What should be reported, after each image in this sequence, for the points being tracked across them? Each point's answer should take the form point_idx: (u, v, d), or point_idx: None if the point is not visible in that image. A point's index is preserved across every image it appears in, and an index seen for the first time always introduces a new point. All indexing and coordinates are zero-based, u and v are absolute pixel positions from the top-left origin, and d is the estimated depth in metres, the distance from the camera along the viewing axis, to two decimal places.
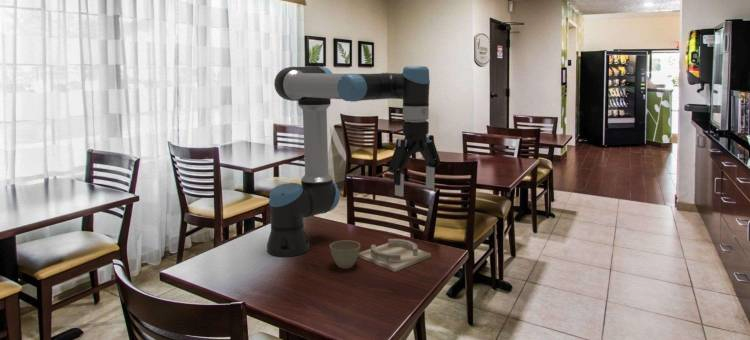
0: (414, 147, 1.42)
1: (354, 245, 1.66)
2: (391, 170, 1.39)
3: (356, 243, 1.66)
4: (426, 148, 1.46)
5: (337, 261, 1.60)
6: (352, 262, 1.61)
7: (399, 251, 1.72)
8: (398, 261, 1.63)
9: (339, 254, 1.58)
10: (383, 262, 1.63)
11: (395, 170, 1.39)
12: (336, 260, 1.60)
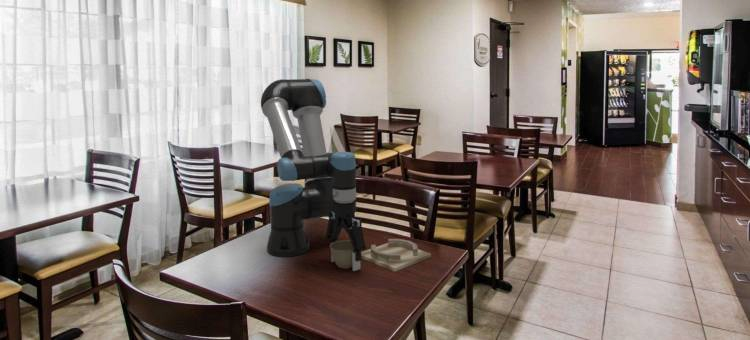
0: (336, 222, 1.61)
1: None
2: None
3: None
4: (346, 228, 1.58)
5: (337, 261, 1.60)
6: (352, 262, 1.61)
7: (399, 251, 1.72)
8: (398, 261, 1.63)
9: (339, 254, 1.58)
10: (383, 262, 1.63)
11: (326, 236, 1.67)
12: (336, 260, 1.60)
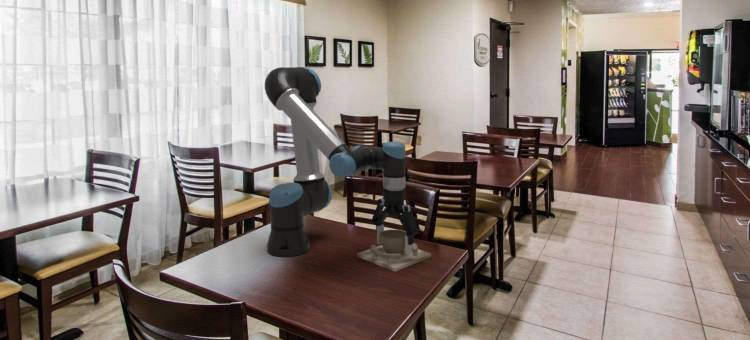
0: (385, 209, 1.68)
1: (401, 234, 1.73)
2: None
3: (404, 232, 1.73)
4: (397, 214, 1.65)
5: (387, 249, 1.67)
6: (401, 250, 1.68)
7: None
8: (398, 261, 1.63)
9: (389, 242, 1.65)
10: (383, 262, 1.63)
11: (372, 220, 1.75)
12: (386, 248, 1.67)
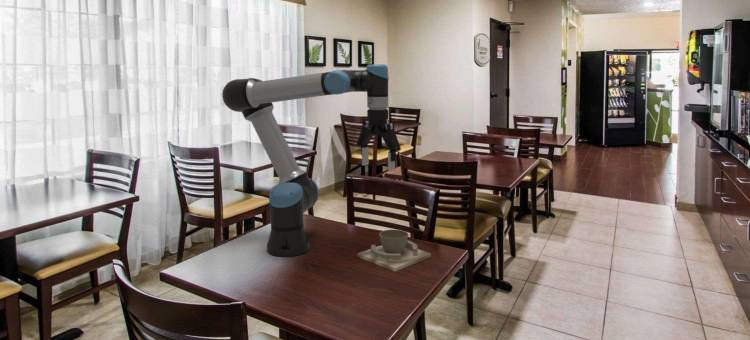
0: (369, 129, 1.77)
1: (401, 234, 1.73)
2: None
3: (404, 232, 1.73)
4: (380, 133, 1.73)
5: (387, 249, 1.67)
6: (401, 250, 1.68)
7: None
8: (398, 261, 1.63)
9: (389, 242, 1.65)
10: (383, 262, 1.63)
11: (357, 143, 1.84)
12: (386, 248, 1.67)
